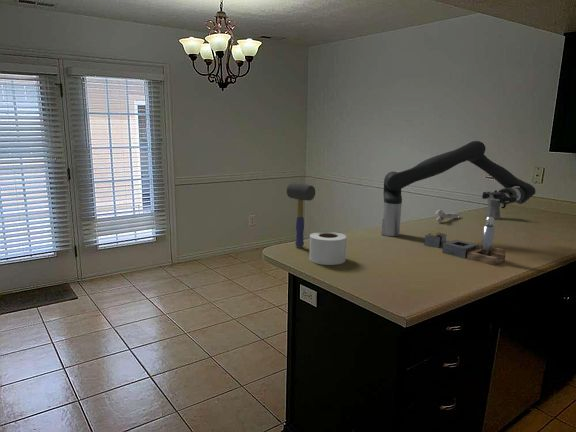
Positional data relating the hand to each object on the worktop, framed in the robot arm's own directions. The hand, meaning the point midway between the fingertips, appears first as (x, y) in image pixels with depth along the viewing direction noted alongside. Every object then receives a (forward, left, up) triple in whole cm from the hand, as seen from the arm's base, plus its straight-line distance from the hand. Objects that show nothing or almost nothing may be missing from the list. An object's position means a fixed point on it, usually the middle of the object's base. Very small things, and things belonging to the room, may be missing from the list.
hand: (492, 198), depth 194 cm
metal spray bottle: (-2, -10, -25) cm, 27 cm away
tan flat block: (-21, +11, -26) cm, 35 cm away
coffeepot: (+18, +90, -26) cm, 95 cm away
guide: (-22, +9, -26) cm, 35 cm away
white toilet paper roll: (-68, -32, -26) cm, 80 cm away
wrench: (-11, +72, -26) cm, 78 cm away
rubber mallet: (-84, -17, -26) cm, 90 cm away
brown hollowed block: (-2, -10, -26) cm, 28 cm away
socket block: (-12, -3, -26) cm, 29 cm away
